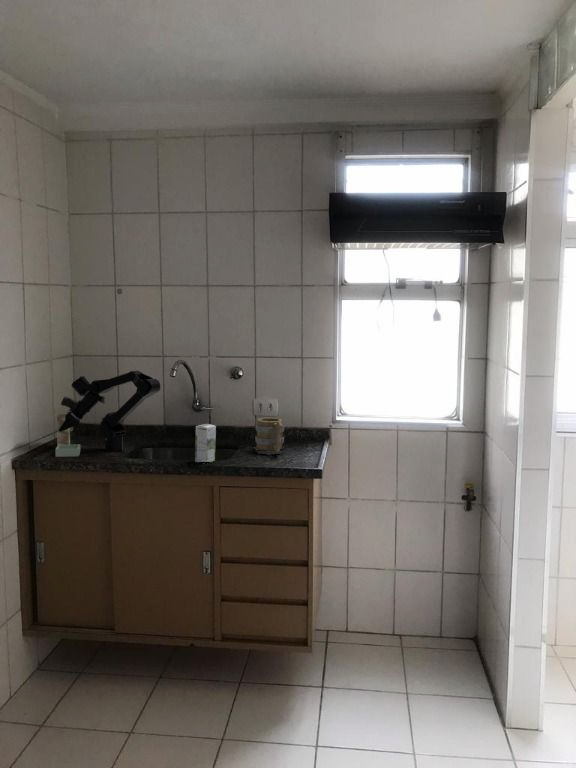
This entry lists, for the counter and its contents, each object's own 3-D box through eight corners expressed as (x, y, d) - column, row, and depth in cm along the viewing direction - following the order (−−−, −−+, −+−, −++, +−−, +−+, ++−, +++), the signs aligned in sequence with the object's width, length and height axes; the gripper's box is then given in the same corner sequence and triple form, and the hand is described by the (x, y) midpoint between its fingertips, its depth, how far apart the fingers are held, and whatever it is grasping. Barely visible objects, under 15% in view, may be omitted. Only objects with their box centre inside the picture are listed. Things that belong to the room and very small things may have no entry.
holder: (80, 451, 269) (80, 444, 268) (78, 456, 260) (78, 448, 260) (58, 452, 267) (58, 444, 266) (55, 456, 258) (55, 449, 258)
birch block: (69, 444, 277) (69, 414, 275) (68, 446, 272) (68, 415, 271) (58, 444, 276) (58, 414, 274) (57, 446, 271) (56, 415, 270)
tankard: (251, 449, 281) (251, 415, 279) (279, 448, 285) (279, 414, 283) (264, 459, 262) (264, 423, 260) (293, 458, 266) (294, 422, 264)
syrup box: (203, 459, 260) (204, 423, 258) (215, 461, 257) (216, 425, 255) (194, 462, 255) (195, 425, 254) (206, 464, 252) (207, 427, 251)
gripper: (74, 387, 282) (48, 413, 280) (70, 392, 263) (42, 420, 262) (94, 405, 284) (67, 431, 283) (91, 411, 266) (63, 439, 265)
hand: (60, 430), depth 273 cm, fingers closed on birch block, 4 cm apart
